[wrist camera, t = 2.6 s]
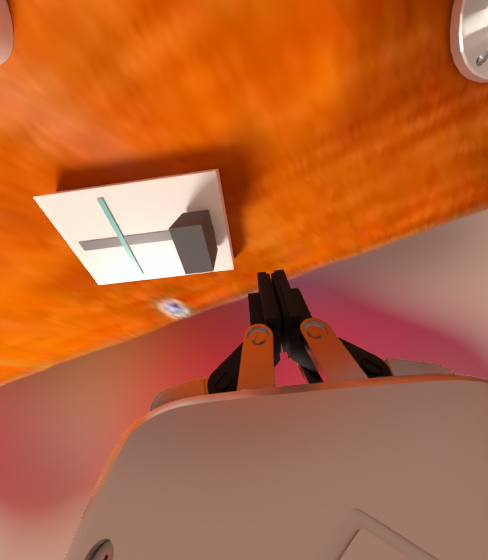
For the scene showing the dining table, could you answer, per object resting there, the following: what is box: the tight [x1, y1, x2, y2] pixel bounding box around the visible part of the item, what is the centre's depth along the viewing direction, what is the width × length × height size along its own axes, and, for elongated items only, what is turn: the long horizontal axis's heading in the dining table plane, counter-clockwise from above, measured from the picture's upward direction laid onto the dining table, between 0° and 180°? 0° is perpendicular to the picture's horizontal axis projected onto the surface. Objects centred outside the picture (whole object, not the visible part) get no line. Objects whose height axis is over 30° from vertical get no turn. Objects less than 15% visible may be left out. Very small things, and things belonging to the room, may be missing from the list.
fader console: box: [33, 168, 234, 285], centre depth 23 cm, size 20×12×3 cm, turn 97°
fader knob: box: [169, 210, 218, 274], centre depth 20 cm, size 3×5×5 cm, turn 7°
